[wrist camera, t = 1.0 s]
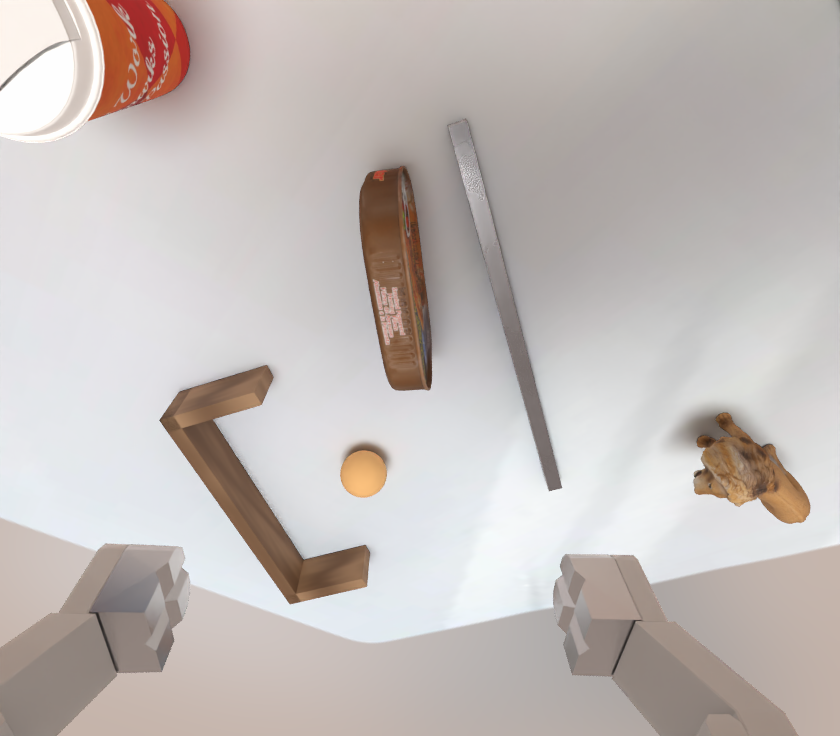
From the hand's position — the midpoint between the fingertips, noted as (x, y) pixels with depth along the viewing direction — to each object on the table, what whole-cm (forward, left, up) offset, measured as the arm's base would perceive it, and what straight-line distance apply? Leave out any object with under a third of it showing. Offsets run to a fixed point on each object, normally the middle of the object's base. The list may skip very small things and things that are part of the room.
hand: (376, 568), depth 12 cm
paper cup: (+11, -15, -30) cm, 35 cm away
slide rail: (-5, +11, -30) cm, 32 cm away
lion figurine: (-21, +29, -30) cm, 47 cm away
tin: (+1, +3, -30) cm, 30 cm away
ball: (+10, +19, -28) cm, 35 cm away
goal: (+18, +19, -30) cm, 40 cm away
